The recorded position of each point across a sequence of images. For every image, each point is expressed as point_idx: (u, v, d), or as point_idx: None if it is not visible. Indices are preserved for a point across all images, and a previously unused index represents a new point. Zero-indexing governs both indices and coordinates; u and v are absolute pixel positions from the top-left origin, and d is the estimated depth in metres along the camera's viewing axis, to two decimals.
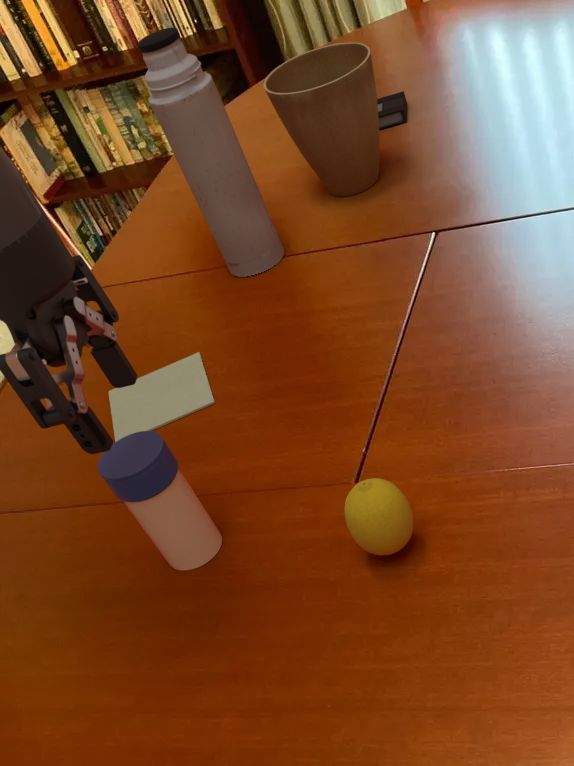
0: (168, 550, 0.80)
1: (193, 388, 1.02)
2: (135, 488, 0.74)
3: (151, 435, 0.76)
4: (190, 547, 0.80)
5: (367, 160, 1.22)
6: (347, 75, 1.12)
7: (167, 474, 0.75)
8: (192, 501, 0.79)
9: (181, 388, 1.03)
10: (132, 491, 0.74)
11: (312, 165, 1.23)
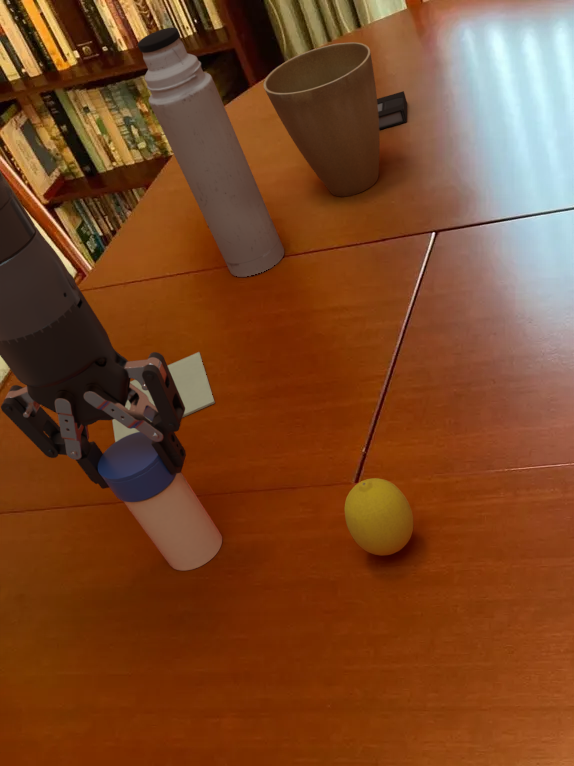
0: (168, 550, 0.80)
1: (193, 388, 1.02)
2: (135, 488, 0.74)
3: None
4: (190, 547, 0.80)
5: (367, 160, 1.22)
6: (347, 75, 1.12)
7: (167, 474, 0.75)
8: (192, 501, 0.79)
9: (181, 388, 1.03)
10: (132, 491, 0.74)
11: (312, 165, 1.23)
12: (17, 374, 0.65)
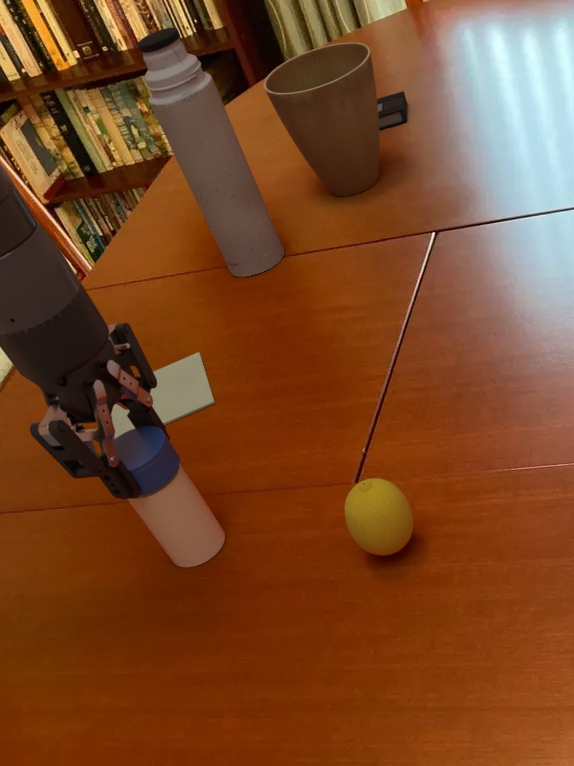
0: (172, 546, 0.80)
1: (193, 388, 1.02)
2: (171, 454, 0.76)
3: (119, 439, 0.77)
4: (194, 543, 0.80)
5: (367, 160, 1.22)
6: (347, 75, 1.12)
7: None
8: (195, 496, 0.79)
9: (181, 388, 1.03)
10: (171, 459, 0.75)
11: (312, 165, 1.23)
12: (77, 351, 0.65)
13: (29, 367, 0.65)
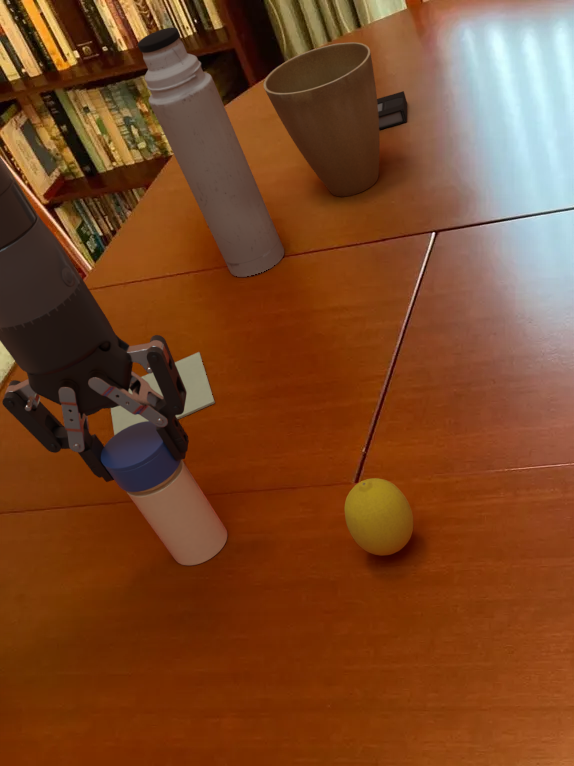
0: (176, 544, 0.80)
1: (193, 388, 1.02)
2: None
3: (113, 463, 0.74)
4: (198, 540, 0.81)
5: (367, 160, 1.22)
6: (347, 75, 1.12)
7: None
8: (198, 494, 0.79)
9: None
10: None
11: (312, 165, 1.23)
12: None
13: (99, 319, 0.66)
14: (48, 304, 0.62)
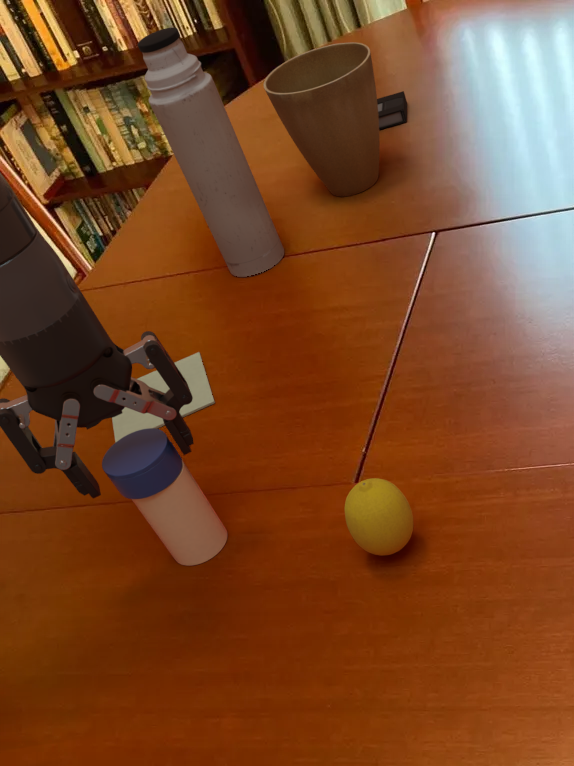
0: (176, 544, 0.80)
1: (193, 388, 1.02)
2: None
3: (120, 471, 0.74)
4: (198, 541, 0.81)
5: (367, 160, 1.22)
6: (347, 75, 1.12)
7: None
8: (199, 494, 0.79)
9: None
10: None
11: (312, 165, 1.23)
12: None
13: (100, 325, 0.67)
14: (59, 310, 0.63)
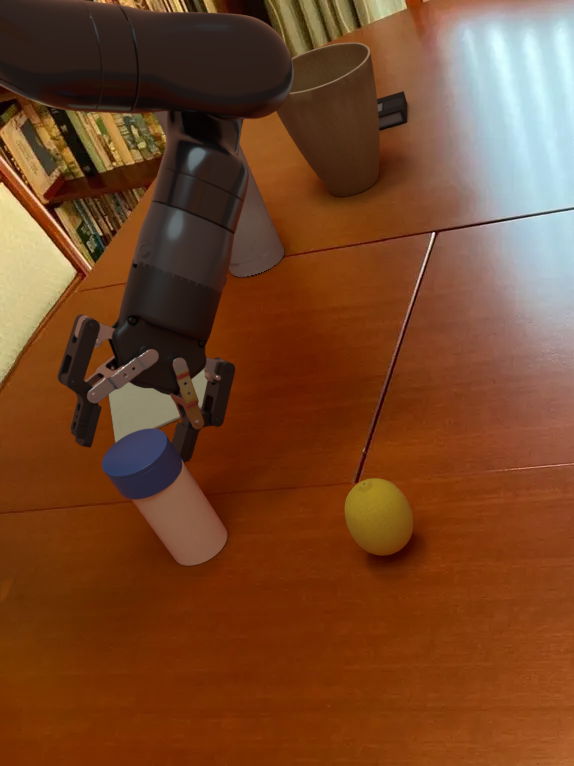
0: (176, 545, 0.80)
1: None
2: None
3: (119, 472, 0.74)
4: (198, 541, 0.81)
5: (367, 160, 1.22)
6: (347, 75, 1.12)
7: None
8: (199, 494, 0.79)
9: None
10: None
11: (312, 165, 1.23)
12: None
13: None
14: (218, 285, 0.74)
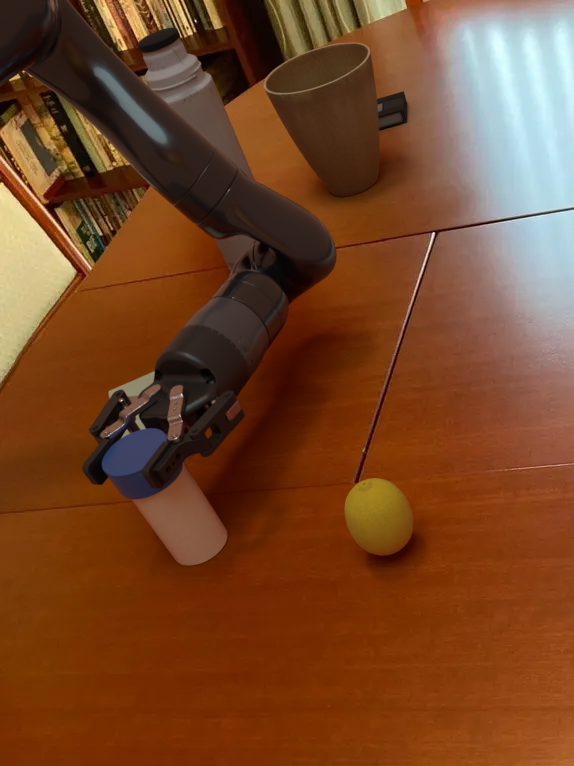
0: (176, 544, 0.80)
1: None
2: None
3: (120, 471, 0.74)
4: (198, 541, 0.81)
5: (367, 160, 1.22)
6: (347, 75, 1.12)
7: None
8: (199, 494, 0.79)
9: None
10: None
11: (312, 165, 1.23)
12: None
13: (228, 374, 0.80)
14: (219, 328, 0.80)
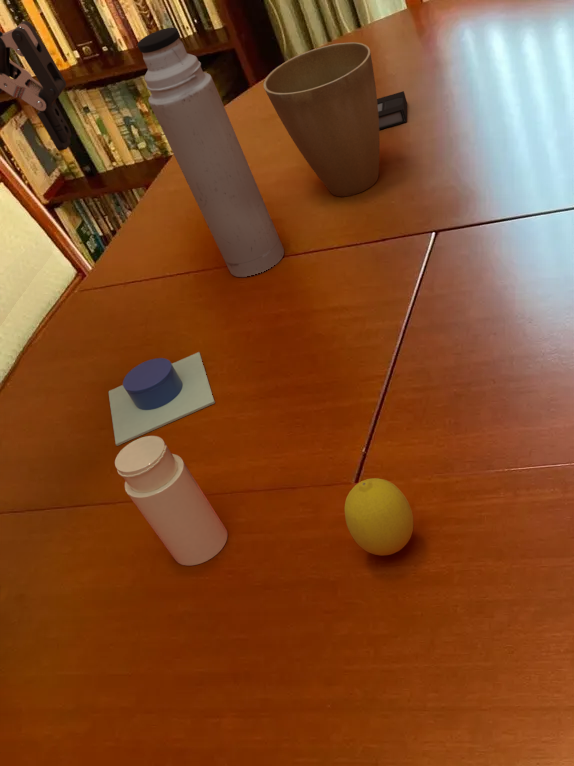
0: (176, 544, 0.80)
1: (193, 388, 1.02)
2: None
3: (151, 384, 1.00)
4: (198, 541, 0.81)
5: (367, 160, 1.22)
6: (347, 75, 1.12)
7: (133, 401, 1.02)
8: (199, 494, 0.79)
9: None
10: None
11: (312, 165, 1.23)
12: None
13: None
14: None
